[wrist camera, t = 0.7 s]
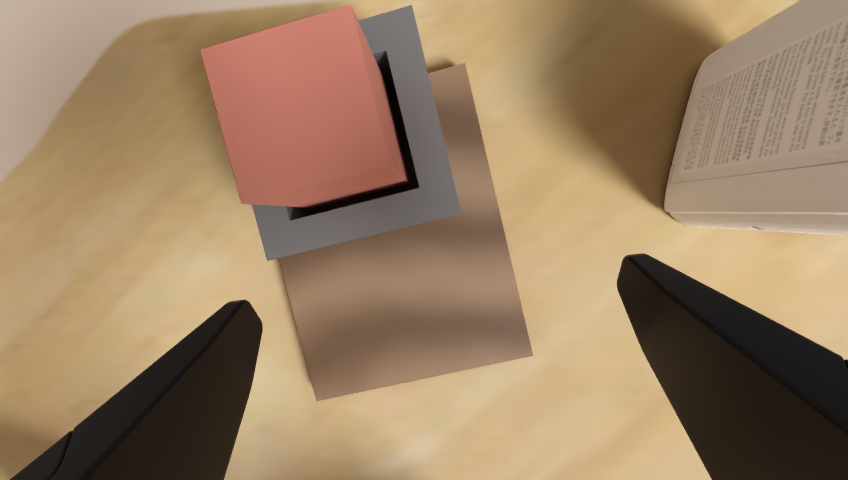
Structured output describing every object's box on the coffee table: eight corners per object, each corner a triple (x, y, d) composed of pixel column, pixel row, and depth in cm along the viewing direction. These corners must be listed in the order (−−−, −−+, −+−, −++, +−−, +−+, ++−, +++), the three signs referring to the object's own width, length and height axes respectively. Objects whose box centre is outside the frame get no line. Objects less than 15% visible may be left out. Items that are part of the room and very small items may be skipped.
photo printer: (722, 234, 21) (1093, 258, 9) (651, 220, 22) (921, 226, 9) (767, 64, 21) (1240, -161, 8) (693, 51, 21) (1049, -186, 9)
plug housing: (457, 214, 21) (461, 213, 15) (316, 248, 22) (267, 260, 16) (421, 66, 21) (411, 4, 15) (278, 106, 21) (214, 63, 15)
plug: (409, 183, 17) (390, 164, 11) (312, 208, 17) (241, 203, 11) (384, 80, 17) (350, 4, 11) (285, 108, 17) (200, 49, 11)
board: (528, 348, 23) (532, 355, 21) (323, 391, 24) (316, 401, 22) (463, 71, 22) (464, 63, 21) (253, 129, 23) (243, 124, 22)
